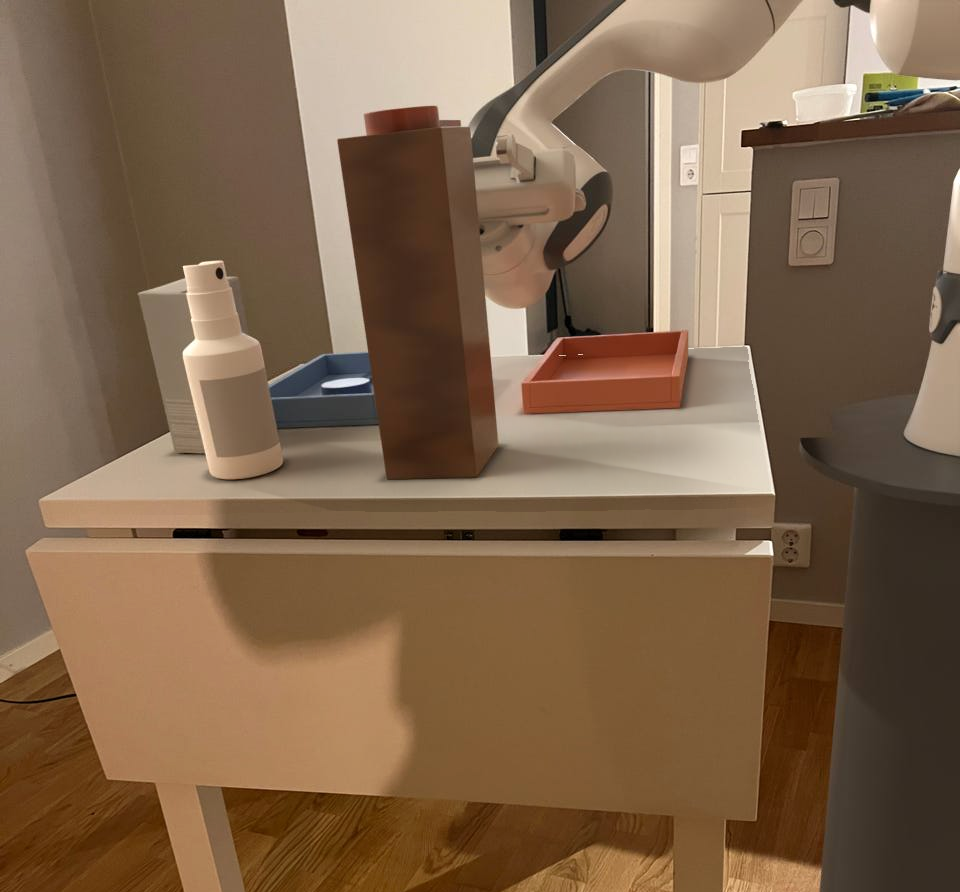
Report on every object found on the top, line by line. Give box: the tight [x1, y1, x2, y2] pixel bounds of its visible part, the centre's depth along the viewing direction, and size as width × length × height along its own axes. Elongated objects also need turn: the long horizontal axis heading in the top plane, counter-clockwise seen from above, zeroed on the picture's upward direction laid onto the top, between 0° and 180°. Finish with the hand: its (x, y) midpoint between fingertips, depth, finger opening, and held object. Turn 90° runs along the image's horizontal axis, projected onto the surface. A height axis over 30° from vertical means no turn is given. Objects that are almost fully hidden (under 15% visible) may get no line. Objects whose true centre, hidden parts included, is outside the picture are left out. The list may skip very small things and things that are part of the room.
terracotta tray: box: [520, 329, 689, 415], centre depth 105 cm, size 16×24×3 cm, turn 167°
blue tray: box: [268, 351, 379, 429], centre depth 110 cm, size 16×24×3 cm, turn 167°
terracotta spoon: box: [363, 105, 462, 136], centre depth 77 cm, size 6×18×2 cm, turn 167°
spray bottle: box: [182, 260, 284, 480], centre depth 85 cm, size 7×7×18 cm
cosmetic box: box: [137, 276, 250, 454], centre depth 95 cm, size 8×7×16 cm
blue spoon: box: [321, 372, 372, 395], centre depth 115 cm, size 6×18×2 cm, turn 167°
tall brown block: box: [336, 125, 499, 480], centre depth 79 cm, size 8×9×26 cm
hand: (452, 148), depth 85 cm, fingers open, 8 cm apart
